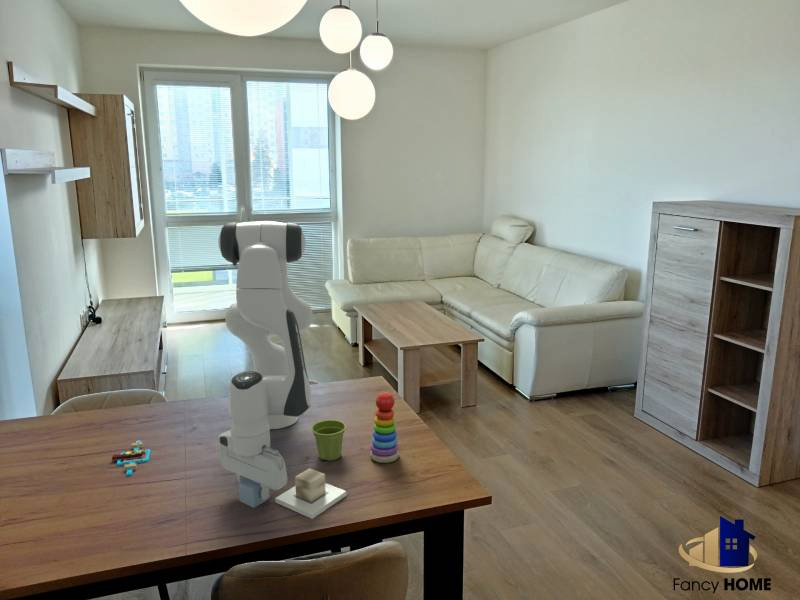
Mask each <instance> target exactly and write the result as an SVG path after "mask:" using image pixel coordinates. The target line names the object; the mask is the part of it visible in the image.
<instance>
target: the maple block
mask: <svg viewBox="0 0 800 600" xmlns="http://www.w3.org/2000/svg"><path fill="white" fill-rule="evenodd" d="M294 479H295V480H294V482H295V483H294V484H295V486H296V496H298V497H301V498H303V499H305V500H308V501H310V502H312V501H314V500H315V499H317V498H318V497H320V496H321V495H323V494H324V493H326V491H325V483H326V473H323V472H321V471H318V470H315V469H314V468H310V467H309V468H307V469H305V470H304V471H302V472H300V473H299V474H297V475H296V476H294Z"/></svg>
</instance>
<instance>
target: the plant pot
mask: <svg viewBox="0 0 800 600" xmlns="http://www.w3.org/2000/svg"><path fill="white" fill-rule="evenodd" d="M346 428H347V425H346V423H344V422H343V421H341V420H338V419H337V420H336V419H326V420H322V421H321V420H320V421H318V422H315V423H314V424H313V425H312V426H311V431H312V433H313V436H314V437H315V443H316V448H317V454H318V457H319V459H320V460H322V461H323V460H326V461H335V460H337V459H339V458H340V457H341V456H342V451H343V449H342V448H343V439H344V434H345V431H346Z"/></svg>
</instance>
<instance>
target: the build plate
mask: <svg viewBox="0 0 800 600" xmlns="http://www.w3.org/2000/svg"><path fill="white" fill-rule="evenodd" d="M325 491H326V493H324V494H323V495H321V496H320V497H318V498H317V499H315V500H314V501H312V502H310V501H308V500H305V499H303V498H301V497H298V496H296V485H295V486H292V487H290V489H287V490H286V491H284V492H283V493H281V494H279V495H277V496H276V497H275V498H274V501H275V503H276V504H278V505H281V506H282V507H285V508H287V509H289V510H291V511H294V512H296V513H298V514H300V515H303V516H305V517H307V518H309V519H311V520H313V519H315V518H317V516H319V515H321V513H324V512H325V511H326V510H328V509H329V508H330V507H332V506H333V505H334V504H336V503H338V502H339V501H340V500H343V498H345V497H346V496H347V490H345V489H342V488H339V487H336V486H334V485H332V484H330V483H326V482H325Z"/></svg>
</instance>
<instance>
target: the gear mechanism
mask: <svg viewBox="0 0 800 600" xmlns="http://www.w3.org/2000/svg"><path fill="white" fill-rule="evenodd" d="M130 445H131V446H130V447H131V448H130V449H131V450H129V451H124V452H121V453H120V454H113V455H112V456H111V460H112V461H113V460H114V461H115V460H117V461H116V465H117V466H123V468H124V472H126V473H125V474H126V476H125V477H128V476H132V475H133V472H134V471H137V468H138V464H140V463H141V464H142V463H147V462H149V459H150V455H151V449H150V448H149V449H145V448H144V449H143V447H144V443H143V441H142V440H136V441H135V442H133V443H131V444H130ZM143 455H144V456H143Z"/></svg>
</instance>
